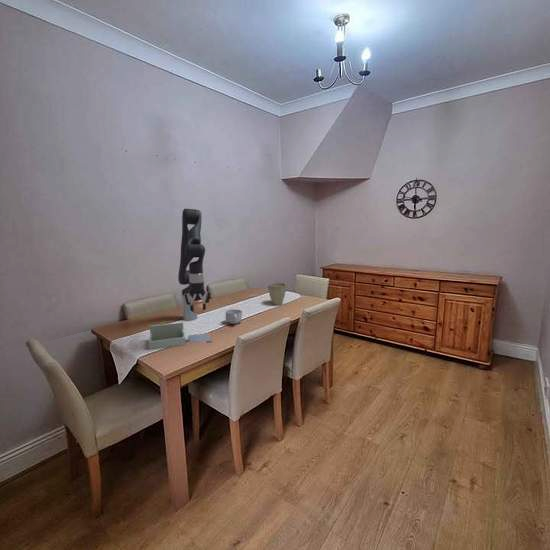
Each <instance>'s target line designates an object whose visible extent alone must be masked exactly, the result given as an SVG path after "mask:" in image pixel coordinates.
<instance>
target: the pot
mask: <svg viewBox="0 0 550 550" xmlns="http://www.w3.org/2000/svg"><path fill="white" fill-rule="evenodd" d="M192 302H193V313H197V314H202V313H204V311H203V300H201V299H196V300H194V301H192Z"/></svg>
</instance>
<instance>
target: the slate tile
mask: <svg viewBox="0 0 550 550" xmlns="http://www.w3.org/2000/svg"><path fill="white" fill-rule="evenodd" d="M187 339H188V343H189V344H196V343H197V344H198V343H203V342H206V343H207V344H208V343H213V341H212V337H211V335H210V333H209V332H205V333H198V334H197V333H196V334H189V335H187Z"/></svg>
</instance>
